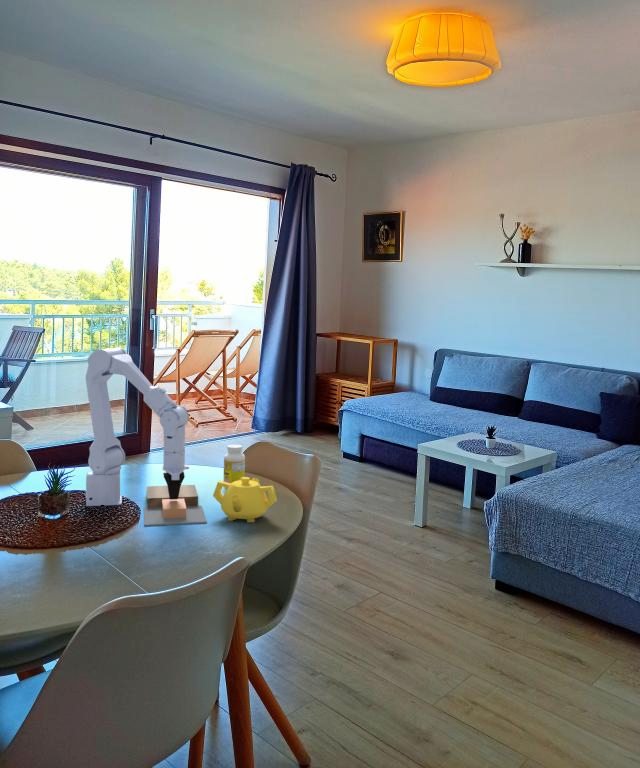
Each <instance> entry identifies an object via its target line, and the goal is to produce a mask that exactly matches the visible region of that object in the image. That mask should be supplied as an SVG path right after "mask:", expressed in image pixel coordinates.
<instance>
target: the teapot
mask: <svg viewBox="0 0 640 768" xmlns="http://www.w3.org/2000/svg"><path fill="white" fill-rule="evenodd" d="M222 488H225V489H226V490H225V492H224V494H222V490H223V489H222ZM266 492H267V493H266ZM212 497H213V498H214V499H215V500H216V501H217V502H218V503H219V504H220V509H221V510H222V512H223V513H224V515H226V516H227V517H228V518H227V521H228V522H229V521H230V522H234V521H233V520H235V521H236V520H238V519H239V520H246V523H248V522H254V521H255V522H256V519H257V518H260V517H262V516H263V515H264V514H265V513H266V512H267V510H268V509H269V508H270V507H272V505H273V504H275V503H277V502H278V499H277V494H276V490H275V488H274V485H267V486H261V484H260V479H259V478H256V477H252V479H251V477H248V476H245V477H242V478H241V480H238V481H234V482H232V483H227V482H224V480H218V482H217V483H216V487H215V489H214V491H213V494H212ZM255 522H254V523H255Z"/></svg>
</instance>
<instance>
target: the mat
mask: <svg viewBox="0 0 640 768" xmlns="http://www.w3.org/2000/svg"><path fill="white" fill-rule="evenodd" d="M143 520H144V521H143V522H144V523H143V524H144V527H153V526H154V527H155V526H174V525H194V524H195V525H197V524H207V523H208V521H207V518H206V515H205V511H204V508H203V506H202V505H198V506H186V518H165V519H163V512H162V507H158V508H147V507H144V508H143Z"/></svg>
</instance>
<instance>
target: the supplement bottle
mask: <svg viewBox="0 0 640 768" xmlns="http://www.w3.org/2000/svg"><path fill="white" fill-rule="evenodd" d="M226 449H227V453H225V454H224V457H223V482H227V483H232V482H234V481H238V480H241V478H242V477H246V475H245V474H246V473H245V472H246V471H245V470H246V456H245V454H244V453H243V445H241V444H228V445H227V447H226Z"/></svg>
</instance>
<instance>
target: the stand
mask: <svg viewBox="0 0 640 768" xmlns="http://www.w3.org/2000/svg"><path fill="white" fill-rule="evenodd" d="M162 499H170V497H169V492H168V486H167V485H150V486H149V485H148V486H146V508H158V507H162ZM178 499H184V501H185V505H186V506H199V494H198V491H197V488H196V485H195V484H181V487H180V491H179V496H178Z"/></svg>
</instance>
